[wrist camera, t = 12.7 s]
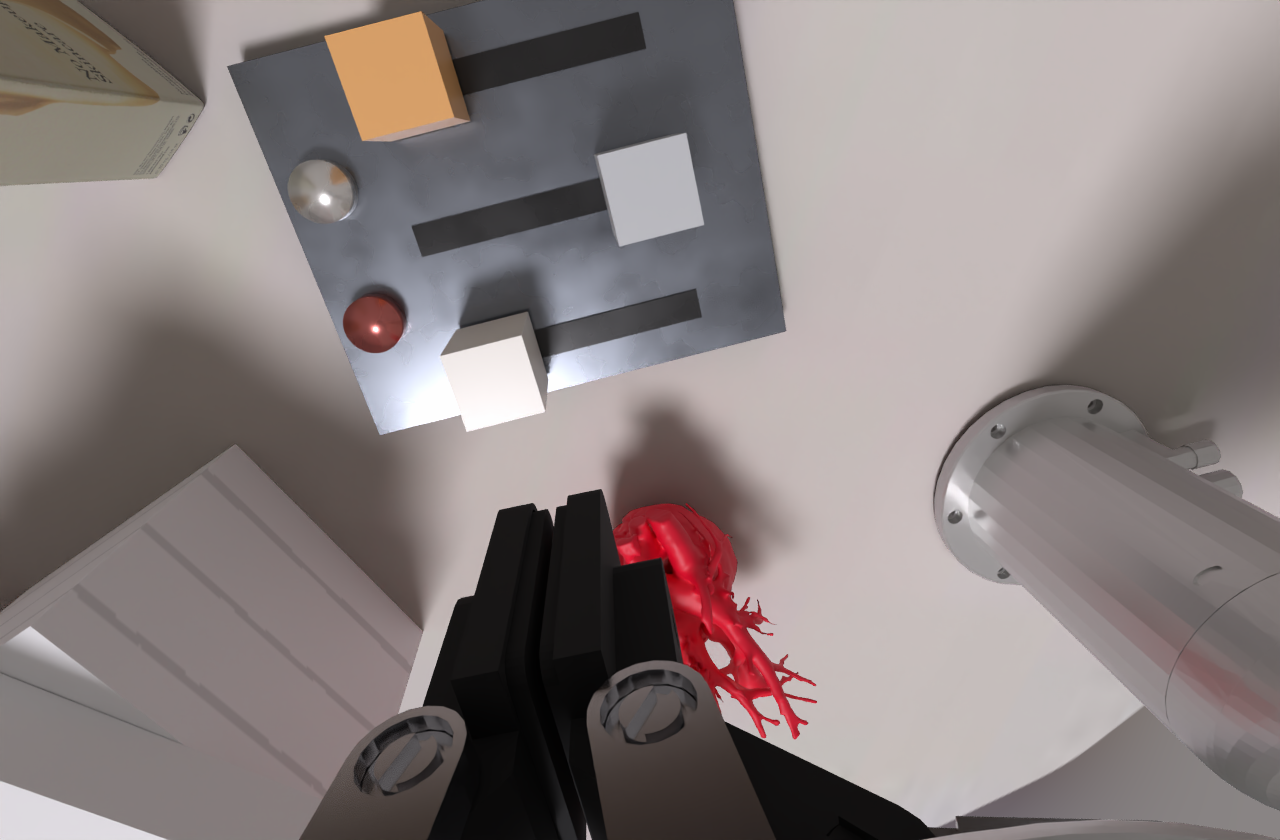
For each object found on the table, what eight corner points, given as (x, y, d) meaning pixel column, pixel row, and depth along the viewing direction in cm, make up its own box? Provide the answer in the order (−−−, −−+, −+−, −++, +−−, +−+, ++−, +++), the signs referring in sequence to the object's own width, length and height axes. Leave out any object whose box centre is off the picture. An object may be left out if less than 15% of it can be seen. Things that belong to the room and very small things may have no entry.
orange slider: (443, 30, 29) (421, 11, 25) (470, 121, 30) (454, 117, 26) (360, 52, 29) (324, 36, 25) (391, 141, 30) (362, 141, 26)
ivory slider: (527, 311, 33) (521, 335, 29) (548, 379, 35) (545, 411, 30) (456, 329, 33) (439, 356, 29) (479, 397, 35) (466, 431, 30)
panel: (716, -52, 30) (728, -69, 28) (778, 324, 37) (791, 336, 34) (242, 70, 30) (215, 63, 28) (387, 424, 37) (374, 442, 34)
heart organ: (714, 429, 38) (772, 544, 27) (775, 595, 43) (847, 753, 32) (547, 493, 39) (538, 632, 28) (625, 651, 43) (643, 826, 32)
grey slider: (670, 134, 31) (686, 132, 27) (687, 214, 32) (704, 224, 28) (593, 154, 31) (597, 155, 27) (613, 233, 32) (619, 246, 28)
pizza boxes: (-169, 684, 39) (-719, 1085, 22) (239, 392, 35) (-60, 616, 19) (109, 867, 46) (-156, 1282, 29) (477, 640, 42) (415, 968, 25)
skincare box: (210, 103, 31) (-2, 79, 19) (158, 182, 32) (-75, 202, 20) (64, -13, 29) (-269, -118, 17) (13, 74, 30) (-335, 29, 18)
